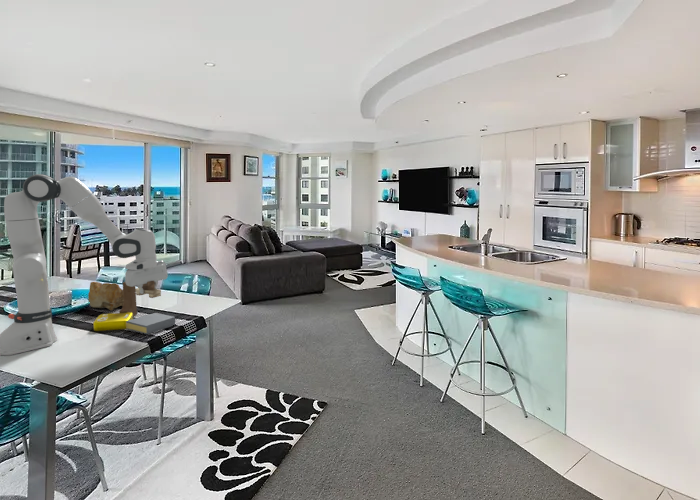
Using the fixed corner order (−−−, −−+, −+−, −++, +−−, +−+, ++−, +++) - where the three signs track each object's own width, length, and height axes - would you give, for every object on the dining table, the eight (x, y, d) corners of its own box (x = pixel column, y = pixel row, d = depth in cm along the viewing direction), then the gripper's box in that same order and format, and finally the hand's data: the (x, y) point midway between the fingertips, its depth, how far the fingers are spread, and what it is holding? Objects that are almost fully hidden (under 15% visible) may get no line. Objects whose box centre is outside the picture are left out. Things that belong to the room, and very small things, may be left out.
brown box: (148, 290, 206) (148, 282, 205) (141, 289, 208) (141, 280, 208) (154, 289, 209) (154, 280, 208) (147, 287, 211) (147, 279, 210)
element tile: (128, 329, 210) (127, 319, 209) (92, 332, 205) (92, 322, 204) (133, 320, 224) (133, 311, 223) (100, 322, 219) (99, 313, 219)
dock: (146, 334, 202) (145, 326, 201) (126, 329, 208) (125, 321, 208) (175, 324, 216) (175, 316, 215) (155, 320, 222) (155, 312, 222)
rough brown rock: (138, 308, 245) (138, 281, 244) (107, 313, 231) (107, 284, 231) (115, 303, 258) (115, 277, 257) (85, 307, 244) (85, 280, 243)
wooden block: (128, 319, 223) (126, 284, 221) (119, 319, 223) (117, 284, 221) (137, 314, 232) (135, 280, 229) (128, 314, 232) (126, 280, 230)
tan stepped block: (152, 298, 204) (152, 291, 204) (135, 294, 210) (135, 288, 209) (161, 295, 208) (160, 289, 208) (144, 292, 214) (144, 286, 213)
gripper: (160, 259, 217) (162, 286, 219) (122, 265, 199) (124, 295, 201) (169, 260, 214) (171, 288, 216) (131, 267, 196) (133, 297, 198)
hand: (148, 292), depth 209 cm, fingers closed on tan stepped block, 5 cm apart
